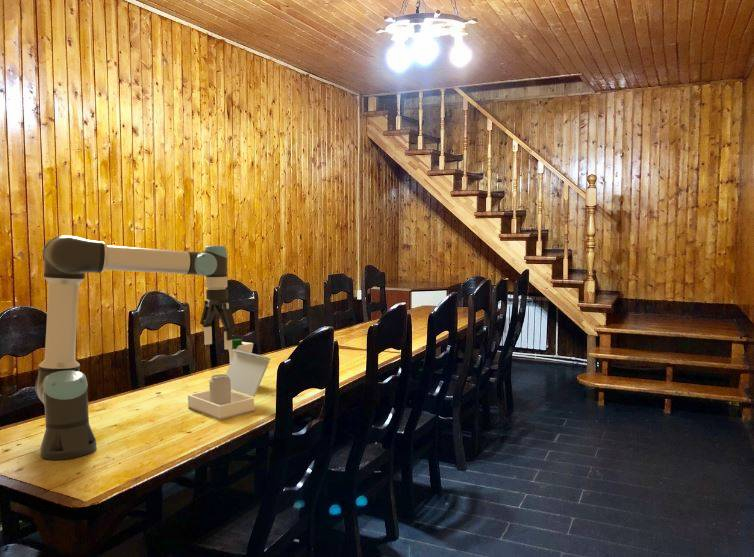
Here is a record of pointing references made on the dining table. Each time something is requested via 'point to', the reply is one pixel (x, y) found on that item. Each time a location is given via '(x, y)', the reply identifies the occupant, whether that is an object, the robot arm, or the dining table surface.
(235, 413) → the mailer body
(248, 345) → the milk carton
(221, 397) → the can
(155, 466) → the dining table surface
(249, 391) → the lid
